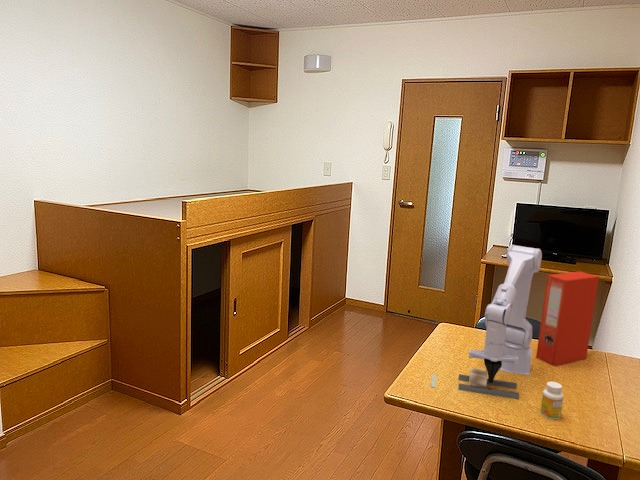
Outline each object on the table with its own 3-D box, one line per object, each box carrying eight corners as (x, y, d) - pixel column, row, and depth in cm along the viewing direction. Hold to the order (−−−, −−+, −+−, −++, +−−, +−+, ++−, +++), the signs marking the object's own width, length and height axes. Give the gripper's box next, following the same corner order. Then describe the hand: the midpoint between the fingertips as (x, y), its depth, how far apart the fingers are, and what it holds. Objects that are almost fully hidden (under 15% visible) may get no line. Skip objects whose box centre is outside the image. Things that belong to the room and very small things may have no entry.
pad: (456, 378, 163) (456, 378, 163) (456, 391, 155) (456, 390, 155) (432, 374, 165) (432, 374, 165) (430, 387, 157) (430, 386, 157)
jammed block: (484, 384, 159) (486, 370, 158) (485, 391, 154) (487, 377, 153) (469, 382, 160) (470, 367, 159) (469, 389, 155) (470, 374, 154)
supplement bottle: (536, 410, 145) (540, 380, 143) (553, 410, 145) (558, 380, 143) (546, 420, 140) (550, 389, 138) (564, 420, 140) (568, 389, 138)
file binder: (586, 359, 182) (599, 276, 176) (554, 366, 175) (566, 280, 169) (567, 350, 189) (579, 270, 183) (536, 357, 182) (546, 274, 176)
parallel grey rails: (515, 388, 158) (516, 382, 157) (518, 400, 150) (519, 394, 150) (458, 379, 162) (458, 374, 162) (458, 390, 155) (458, 384, 155)
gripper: (471, 342, 151) (466, 383, 154) (521, 349, 147) (516, 390, 150) (470, 334, 158) (466, 373, 160) (518, 340, 154) (513, 380, 157)
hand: (490, 381), depth 156 cm, fingers closed
